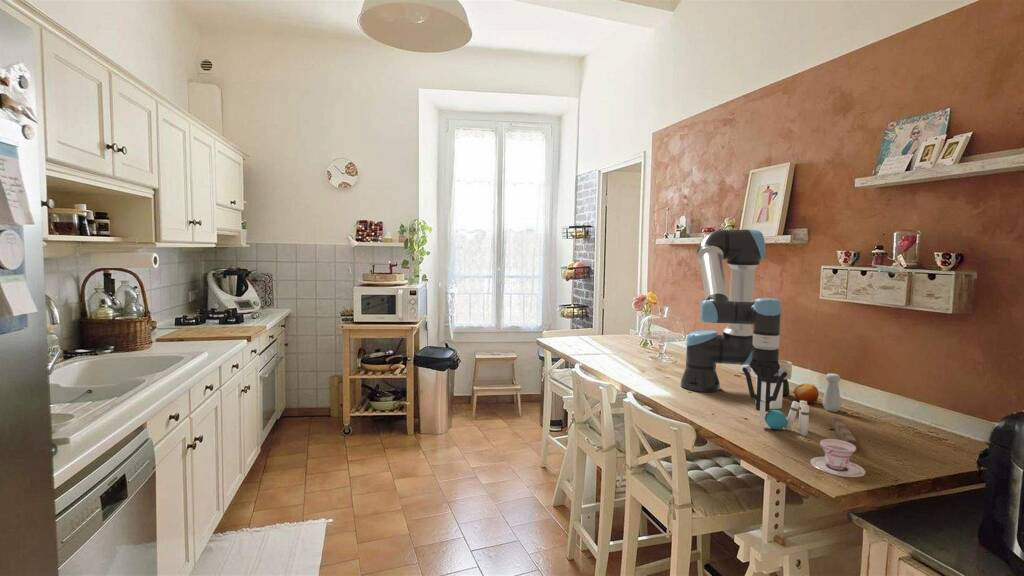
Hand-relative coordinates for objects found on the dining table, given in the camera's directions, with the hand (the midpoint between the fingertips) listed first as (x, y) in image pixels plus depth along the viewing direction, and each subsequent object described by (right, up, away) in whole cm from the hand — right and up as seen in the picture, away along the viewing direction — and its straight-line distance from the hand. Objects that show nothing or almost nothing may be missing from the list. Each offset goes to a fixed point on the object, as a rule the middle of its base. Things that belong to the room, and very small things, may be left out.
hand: (762, 420), depth 159 cm
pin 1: (+12, -2, -2) cm, 12 cm away
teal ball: (+3, +1, -2) cm, 4 cm away
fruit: (+31, -1, +29) cm, 42 cm away
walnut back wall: (+20, -3, -8) cm, 22 cm away
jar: (+14, -1, +23) cm, 27 cm away
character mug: (+26, 0, +38) cm, 47 cm away
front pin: (+7, -2, -2) cm, 7 cm away
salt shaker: (+34, -1, +19) cm, 39 cm away
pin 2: (+10, -3, -6) cm, 12 cm away
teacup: (+4, -5, -30) cm, 31 cm away
